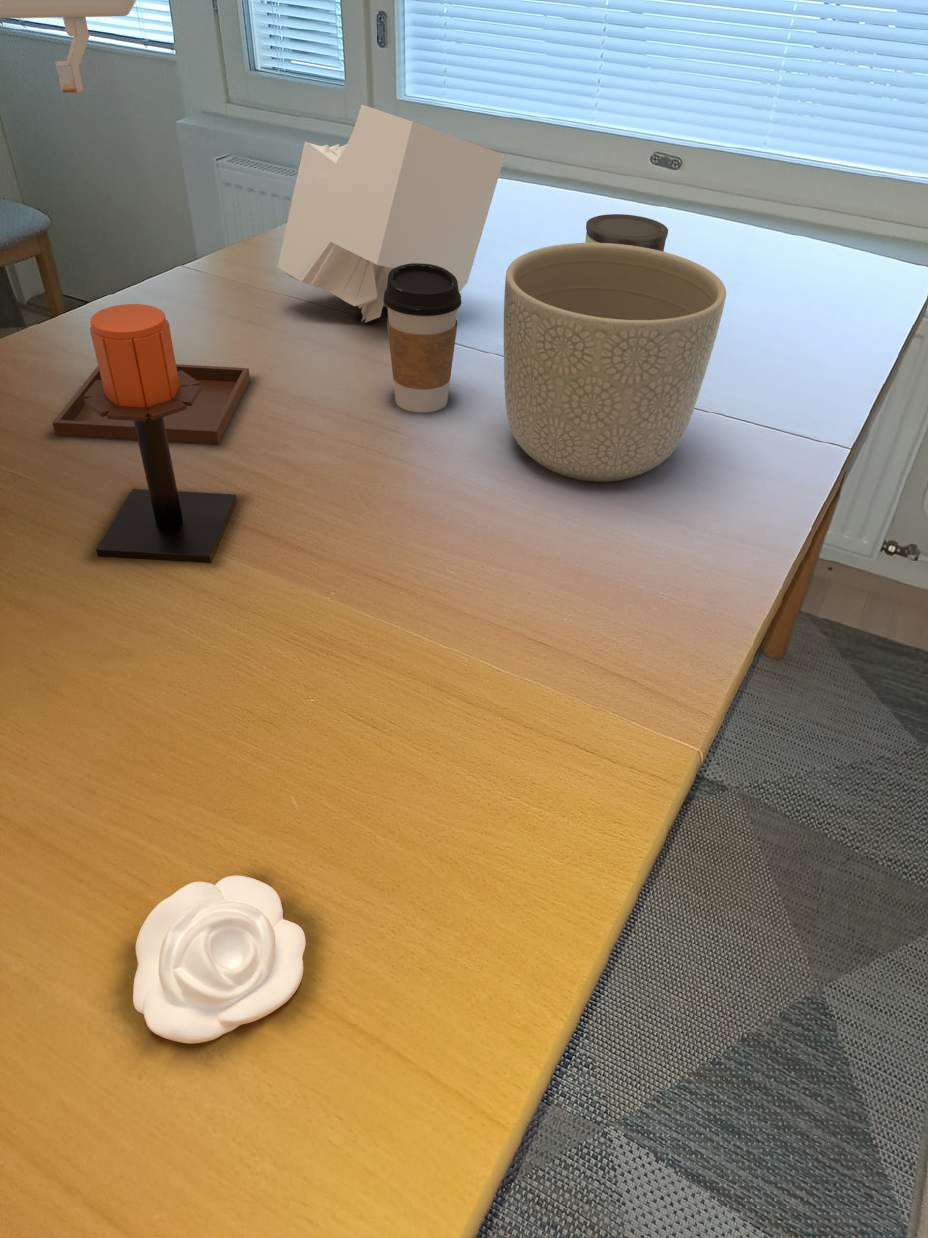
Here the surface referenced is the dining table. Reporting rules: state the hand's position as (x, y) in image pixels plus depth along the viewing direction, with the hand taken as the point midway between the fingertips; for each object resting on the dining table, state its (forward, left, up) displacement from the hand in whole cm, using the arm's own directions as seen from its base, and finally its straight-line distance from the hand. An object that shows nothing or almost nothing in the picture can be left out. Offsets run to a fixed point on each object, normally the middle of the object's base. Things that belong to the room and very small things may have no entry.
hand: (2, 94), depth 64 cm
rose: (+22, -45, -35) cm, 61 cm away
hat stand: (+7, -3, -35) cm, 36 cm away
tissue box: (+21, +52, -35) cm, 66 cm away
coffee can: (+52, +49, -35) cm, 80 cm away
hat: (+7, -3, -21) cm, 22 cm away
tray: (-1, +20, -35) cm, 40 cm away
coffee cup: (+28, +25, -35) cm, 52 cm away
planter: (+47, +16, -35) cm, 61 cm away
